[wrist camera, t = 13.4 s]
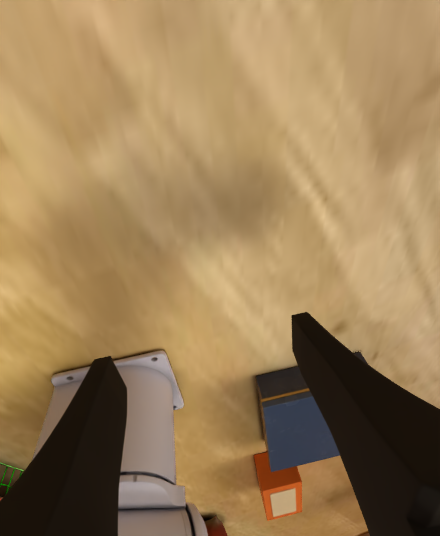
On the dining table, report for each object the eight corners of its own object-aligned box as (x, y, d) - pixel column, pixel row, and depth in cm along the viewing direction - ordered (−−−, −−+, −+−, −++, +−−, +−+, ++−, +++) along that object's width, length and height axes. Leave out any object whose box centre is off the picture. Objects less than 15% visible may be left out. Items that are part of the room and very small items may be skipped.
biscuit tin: (262, 440, 38) (270, 472, 35) (253, 375, 31) (263, 408, 28) (351, 419, 38) (366, 449, 35) (362, 349, 31) (382, 379, 28)
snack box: (291, 478, 45) (302, 512, 41) (259, 486, 44) (267, 521, 41) (289, 446, 39) (302, 482, 36) (253, 455, 39) (262, 492, 36)
